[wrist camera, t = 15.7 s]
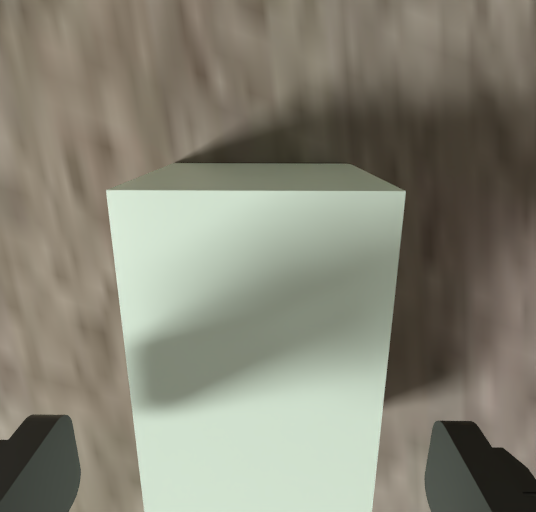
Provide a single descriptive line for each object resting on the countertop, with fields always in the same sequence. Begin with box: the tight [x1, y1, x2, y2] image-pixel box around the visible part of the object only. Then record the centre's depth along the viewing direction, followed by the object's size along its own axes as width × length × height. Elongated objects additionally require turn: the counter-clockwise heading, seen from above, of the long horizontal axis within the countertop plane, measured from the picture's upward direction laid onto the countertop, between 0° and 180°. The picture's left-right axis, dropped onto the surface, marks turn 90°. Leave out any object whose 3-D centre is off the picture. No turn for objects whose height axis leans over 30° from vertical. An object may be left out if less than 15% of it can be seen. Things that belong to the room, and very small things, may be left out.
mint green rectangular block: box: [106, 163, 406, 512], centre depth 14 cm, size 12×7×7 cm, turn 0°
